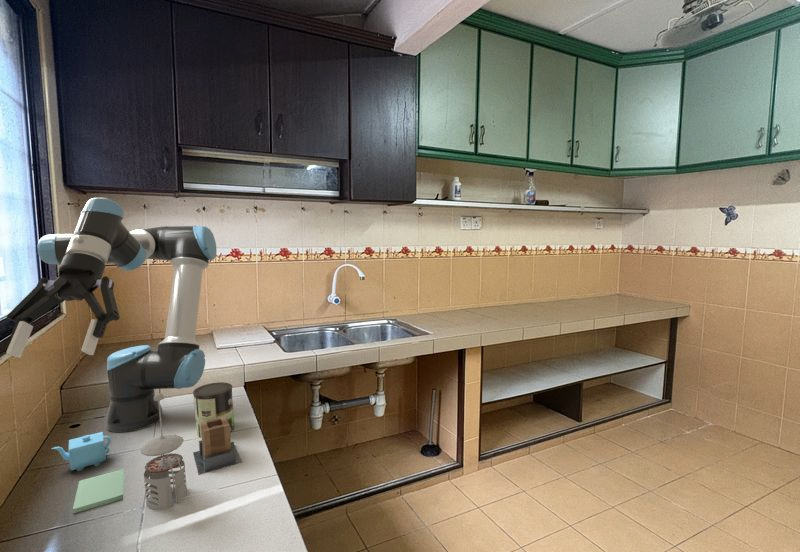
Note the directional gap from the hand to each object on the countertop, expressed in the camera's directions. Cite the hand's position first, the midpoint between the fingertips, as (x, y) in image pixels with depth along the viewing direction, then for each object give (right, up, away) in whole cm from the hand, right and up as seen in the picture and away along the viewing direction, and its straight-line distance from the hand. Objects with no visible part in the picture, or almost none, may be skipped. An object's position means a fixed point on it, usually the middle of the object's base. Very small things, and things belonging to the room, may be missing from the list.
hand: (50, 354), depth 81 cm
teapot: (-13, -34, +26) cm, 45 cm away
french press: (+17, -35, +10) cm, 40 cm away
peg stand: (+21, -33, +26) cm, 47 cm away
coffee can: (+14, -31, +41) cm, 53 cm away
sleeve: (+21, -31, +26) cm, 46 cm away
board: (-1, -34, +16) cm, 38 cm away
